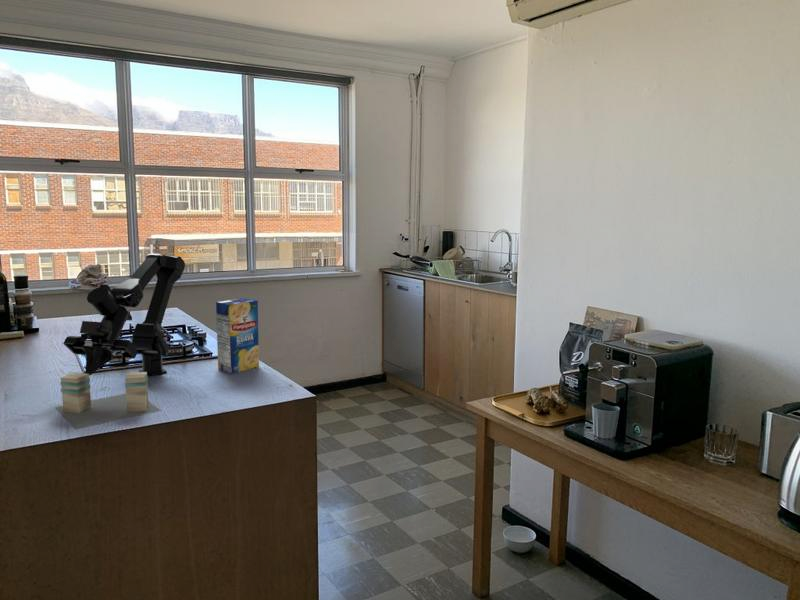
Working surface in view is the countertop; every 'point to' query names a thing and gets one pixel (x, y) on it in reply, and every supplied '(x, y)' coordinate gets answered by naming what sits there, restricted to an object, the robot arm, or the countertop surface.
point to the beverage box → (237, 335)
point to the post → (136, 391)
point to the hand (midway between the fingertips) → (87, 374)
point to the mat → (103, 412)
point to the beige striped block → (75, 392)
